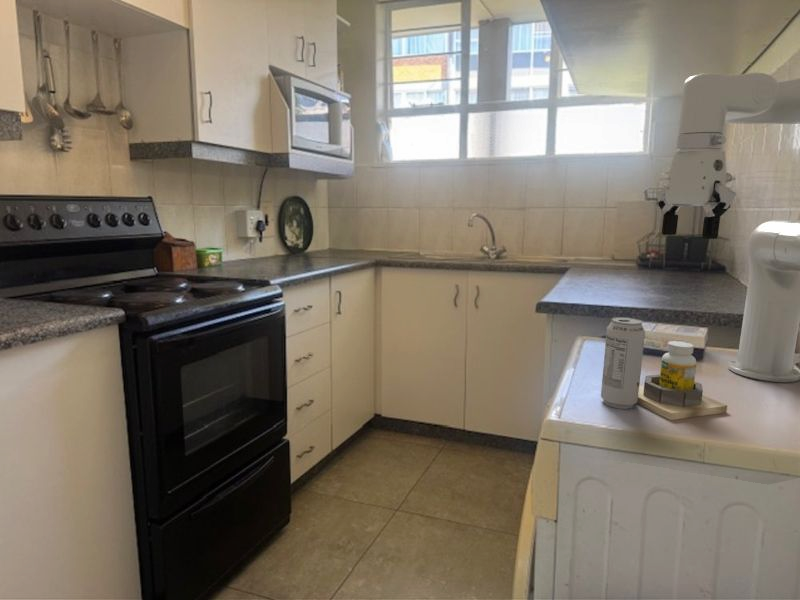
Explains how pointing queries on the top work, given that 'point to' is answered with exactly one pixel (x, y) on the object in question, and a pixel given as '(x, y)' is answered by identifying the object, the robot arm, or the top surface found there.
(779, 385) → the top surface
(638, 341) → the energy drink can
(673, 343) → the supplement bottle
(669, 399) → the collar
